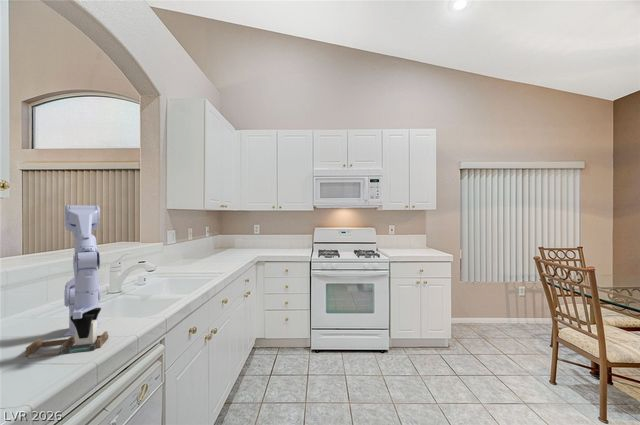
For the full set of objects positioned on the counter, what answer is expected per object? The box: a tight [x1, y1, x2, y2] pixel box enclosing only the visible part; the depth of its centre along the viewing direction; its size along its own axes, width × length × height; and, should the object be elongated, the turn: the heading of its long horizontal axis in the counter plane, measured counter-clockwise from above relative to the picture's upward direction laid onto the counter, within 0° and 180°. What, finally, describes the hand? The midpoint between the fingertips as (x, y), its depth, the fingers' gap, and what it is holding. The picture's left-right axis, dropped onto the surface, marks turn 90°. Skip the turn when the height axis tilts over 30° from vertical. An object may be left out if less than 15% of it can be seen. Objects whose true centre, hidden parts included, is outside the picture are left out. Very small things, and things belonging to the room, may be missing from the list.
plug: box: [74, 320, 98, 346], centre depth 95 cm, size 4×4×7 cm
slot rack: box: [25, 330, 109, 359], centre depth 94 cm, size 9×18×2 cm, turn 109°
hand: (86, 335), depth 95 cm, fingers closed on plug, 3 cm apart
